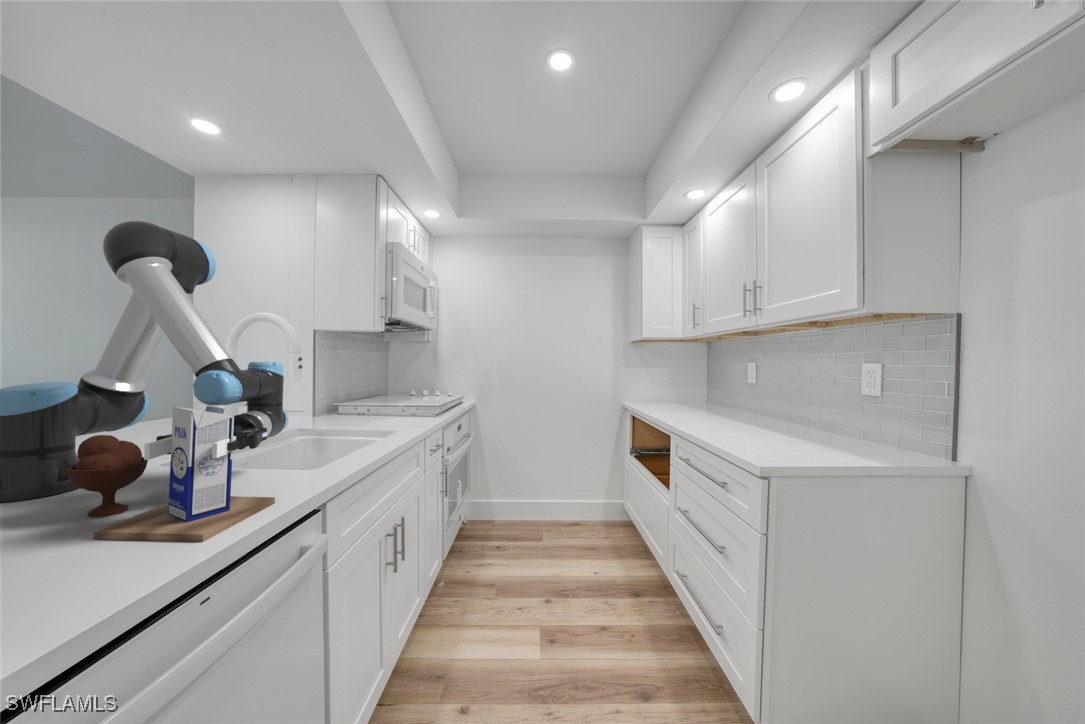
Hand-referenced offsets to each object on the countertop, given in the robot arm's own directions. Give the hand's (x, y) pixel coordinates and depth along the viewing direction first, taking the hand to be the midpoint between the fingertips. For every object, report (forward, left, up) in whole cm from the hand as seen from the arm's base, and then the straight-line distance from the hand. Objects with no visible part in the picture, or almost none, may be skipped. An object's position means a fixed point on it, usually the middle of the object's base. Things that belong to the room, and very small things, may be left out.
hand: (181, 451), depth 71 cm
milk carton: (-3, +3, -13) cm, 13 cm away
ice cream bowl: (-19, -8, -14) cm, 25 cm away
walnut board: (-4, +3, -14) cm, 14 cm away
